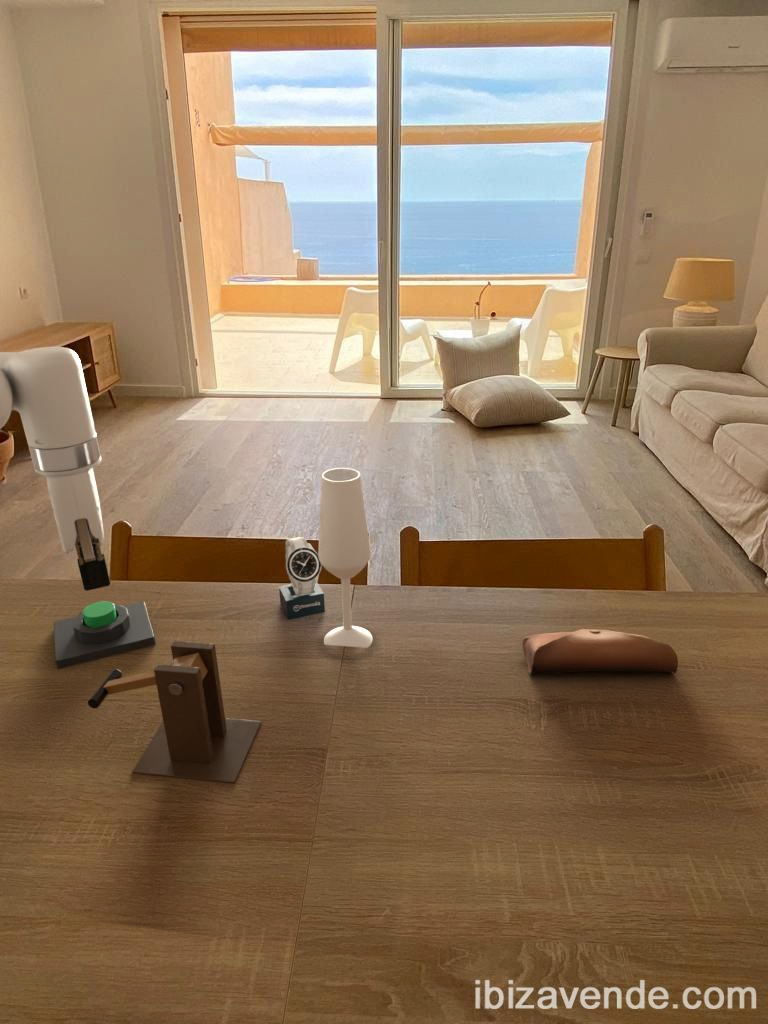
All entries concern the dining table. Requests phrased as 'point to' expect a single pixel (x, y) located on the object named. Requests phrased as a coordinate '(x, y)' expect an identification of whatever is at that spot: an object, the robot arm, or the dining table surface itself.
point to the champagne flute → (344, 545)
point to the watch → (301, 580)
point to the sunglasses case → (596, 652)
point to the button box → (102, 636)
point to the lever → (139, 679)
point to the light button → (99, 614)
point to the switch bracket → (195, 724)
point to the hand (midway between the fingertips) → (97, 585)
